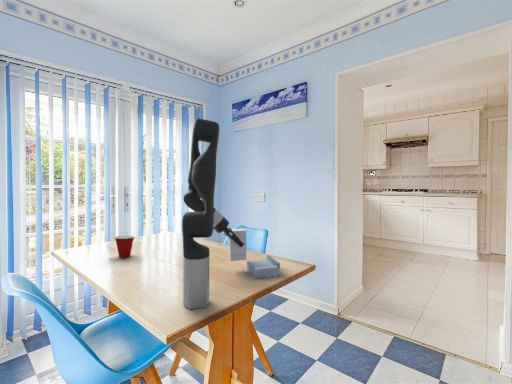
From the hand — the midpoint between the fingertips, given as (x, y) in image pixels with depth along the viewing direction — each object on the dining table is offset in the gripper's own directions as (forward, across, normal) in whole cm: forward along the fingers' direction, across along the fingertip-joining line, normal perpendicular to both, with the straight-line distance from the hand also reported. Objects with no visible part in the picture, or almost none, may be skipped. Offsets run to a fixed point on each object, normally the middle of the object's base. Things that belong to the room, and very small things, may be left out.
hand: (240, 244), depth 132 cm
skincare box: (+4, 0, +7) cm, 8 cm away
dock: (+16, -6, +2) cm, 17 cm away
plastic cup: (-32, +43, +50) cm, 73 cm away
